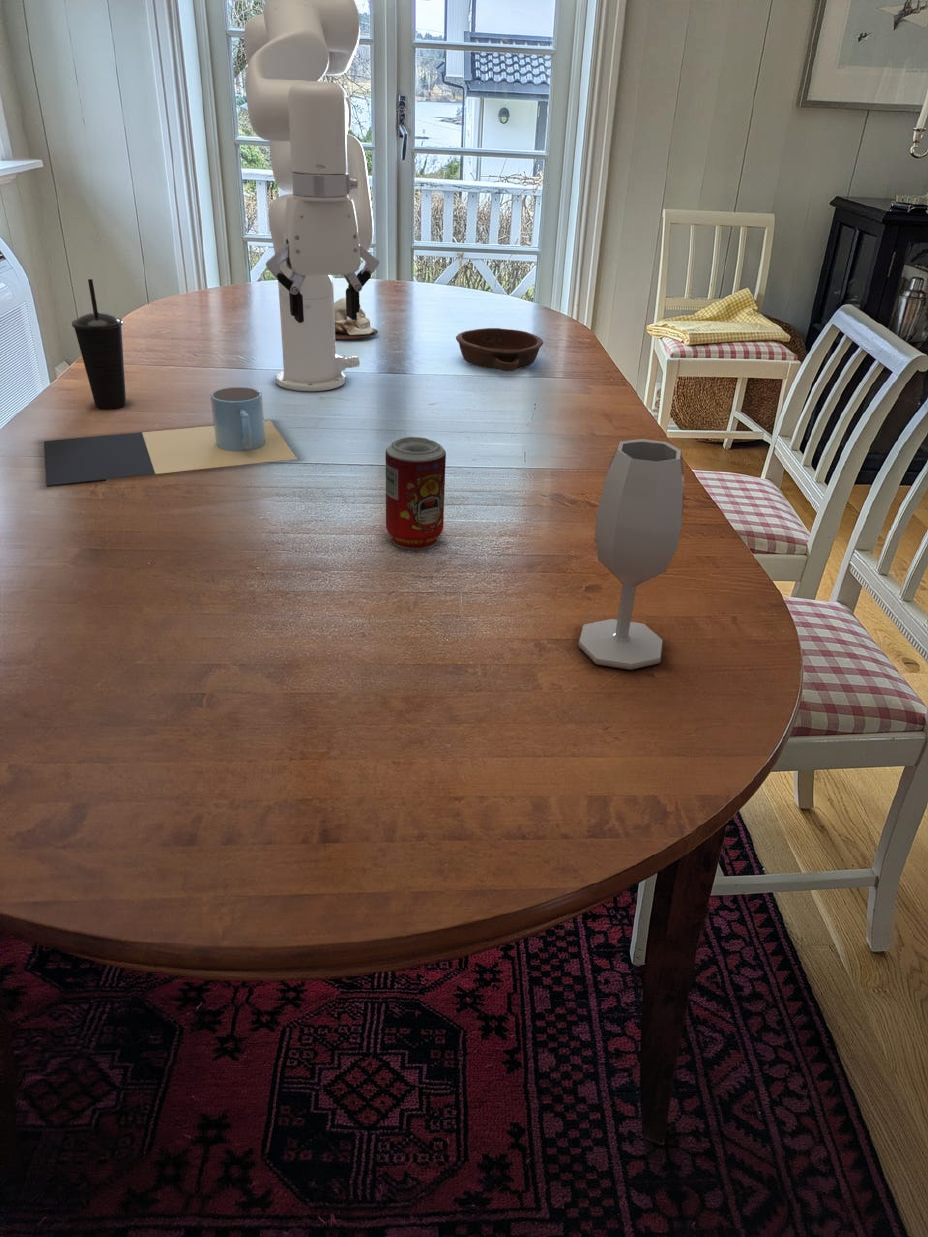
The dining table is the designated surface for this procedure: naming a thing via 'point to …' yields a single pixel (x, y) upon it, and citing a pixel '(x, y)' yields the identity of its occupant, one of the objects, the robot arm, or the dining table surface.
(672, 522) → the wineglass
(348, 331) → the skull
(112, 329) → the drinking cup
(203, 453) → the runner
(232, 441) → the mug
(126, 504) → the dining table surface
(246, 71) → the robot arm
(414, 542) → the soda can
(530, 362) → the dish
